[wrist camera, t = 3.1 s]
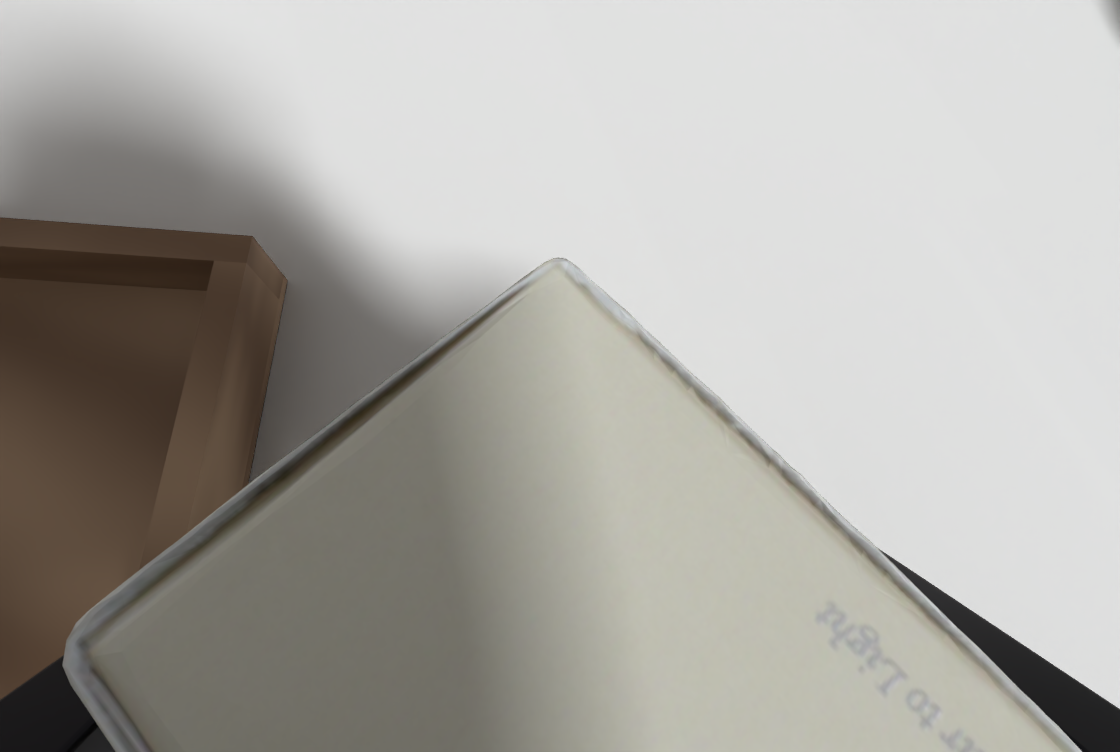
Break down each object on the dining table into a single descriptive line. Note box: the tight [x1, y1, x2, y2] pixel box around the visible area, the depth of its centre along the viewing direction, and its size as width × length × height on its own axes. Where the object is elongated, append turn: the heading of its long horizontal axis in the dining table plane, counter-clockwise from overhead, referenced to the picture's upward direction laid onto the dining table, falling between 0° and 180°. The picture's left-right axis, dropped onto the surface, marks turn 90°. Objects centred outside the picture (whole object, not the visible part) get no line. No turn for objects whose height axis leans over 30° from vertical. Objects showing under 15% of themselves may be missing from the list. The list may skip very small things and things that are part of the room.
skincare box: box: [62, 258, 1082, 752], centre depth 9 cm, size 6×4×12 cm
